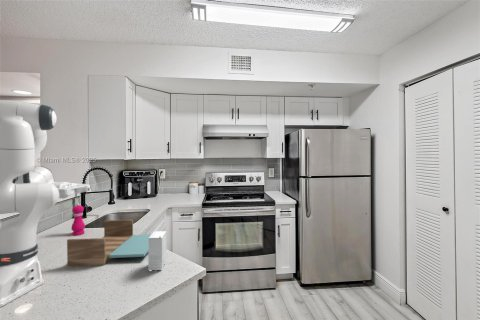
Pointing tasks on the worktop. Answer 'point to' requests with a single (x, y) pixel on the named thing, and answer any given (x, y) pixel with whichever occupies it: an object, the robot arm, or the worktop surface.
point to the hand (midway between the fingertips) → (88, 189)
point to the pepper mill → (78, 220)
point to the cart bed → (99, 244)
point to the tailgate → (133, 247)
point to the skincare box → (157, 250)
